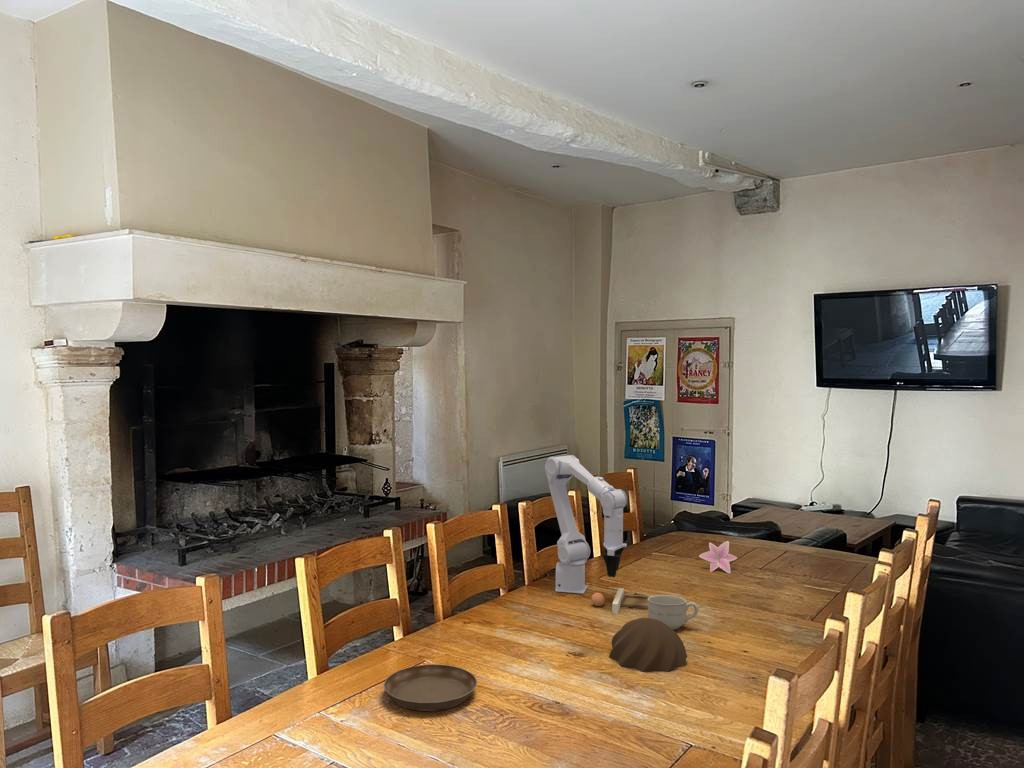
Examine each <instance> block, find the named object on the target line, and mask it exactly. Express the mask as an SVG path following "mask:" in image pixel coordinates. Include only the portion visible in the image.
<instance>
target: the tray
mask: <svg viewBox="0 0 1024 768" xmlns="http://www.w3.org/2000/svg"><path fill="white" fill-rule="evenodd" d="M649 597H650V596H645V595H635V594H624V596H623V598H622V601H621V607H628V608H627V609H633V608H639V609H638V610H644V609H648V598H649ZM621 607H620V608H621Z"/></svg>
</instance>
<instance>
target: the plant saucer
mask: <svg viewBox="0 0 1024 768" xmlns="http://www.w3.org/2000/svg"><path fill="white" fill-rule="evenodd" d="M477 685H478V680H477V678H476V676H475V675H474V674H473V673H471V671H469V670H467V669H464V668H461V667H458V666H454V665H448V664H422V665H421V664H420V665H414V666H409V667H405V668H402V669H400V670H397V671H395V672H393V673H392V674H390V675H389V676H388V677H387V678H386V679H385V680H384V683H383V687H384V688H383V689H384V690H385V692H386V694H387V695H388V696H389V698H390V699H391V700H392V701H393V702H394V703H396V704H397V705H399V706H401V707H403V708H405V709H408V710H412V711H418V712H438V711H443V710H448V709H450V708H453V707H456V706H459V705H460V704H462V703H463V702H464V701H466V700H467V699H468V698H469V697H470V696H471V695H472V694H473V692H474V691H475V689H476V687H477Z"/></svg>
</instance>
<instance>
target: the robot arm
mask: <svg viewBox="0 0 1024 768" xmlns="http://www.w3.org/2000/svg"><path fill="white" fill-rule="evenodd" d="M544 470H545V474H546V478H547V483H548V487H549V492H550V495H551V499H552V503H553V507H554V511H555V514H556V518H557V522H558V526H559V530H560V535H561V536H560V537H559V539H558V540H557V541H556V544H557V557H558V560H559V561H557V562H556V565H555V589H554V591H555V592H557V593H569V594H582V595H584V594H585V593H586V590H587V589H588V585H586V563H588V562H587V560H588V559H589V557H590V556H591V547H590V545H589V543H588V542H587V541H586V536H585V535H584V534H582V533H580V532H579V531H578V528H577V524H576V519H575V516H574V513H573V508H572V506H571V501H570V498H569V493H568V490H567V487H566V486H567V484H568V482H569V481H570V480H571V479H572V477H575V478H576V479H577V480H579V481H580V482H582V483H583V484H585V485H586V487H587V490H588V492H589V493H590V494H591V495H592V496H594V497H595V498H596V499H597V500H598V501H599V502H600V505H601V508H602V513H603V516H604V517H603V518H604V520H603V521H604V524H603V525H604V526H603V531H604V533H603V534H604V535H603V537H604V538H603V543H602V544H603V547H604V548H605V549H606V552H602V554H601V556H602V558H603V560H604V563H605V567H606V573H607V576H608V577H610V578H615V577H616V575H617V571H618V570H619V566H620V561H621V557H622V554H623V551H624V549H625V548H627V545H628V544H627V543H624V508H625V507H626V506H627V504H628V497H627V494H626V492H625V491H624V490H623V489H620V488H618V489H616V488H614V486H613V485H611V484H609V483H608V482H607V481H605V479H604V477H602V476H594V475H593V474H591V473H590V472H589V471H588V469H586V468H585V467H584V466H583V465H582V464H581V462H580V459H579V458H577V457H576V456H575V455H573V454H569V455H562V456H561V455H560V456H549V457H548V458H547V460H546V461H545V464H544Z"/></svg>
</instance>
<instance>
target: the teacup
mask: <svg viewBox="0 0 1024 768" xmlns="http://www.w3.org/2000/svg"><path fill="white" fill-rule="evenodd" d="M648 597H649V598H648V610H647V614H648V618H651V619H656V620H659V621H661V622H663V623H665V624H666V625H667V626H669V627H670V628H671V629H672V630H674V631H675V630H678V629H679V628H681V627H682V626H683V625H684V624H685V623H687V622H689V620H691V619H693V618H695V617H696V616H697V615H698V613H699V606H698V604H697V603H696V602H694V601H688V602H687V600H686V599H685V598H684V597H681V596H676V595H671V594H656V595H651V596H648ZM689 607H693V608H694V612H693V613H692V614H689V615H687V611H688V609H689Z"/></svg>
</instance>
